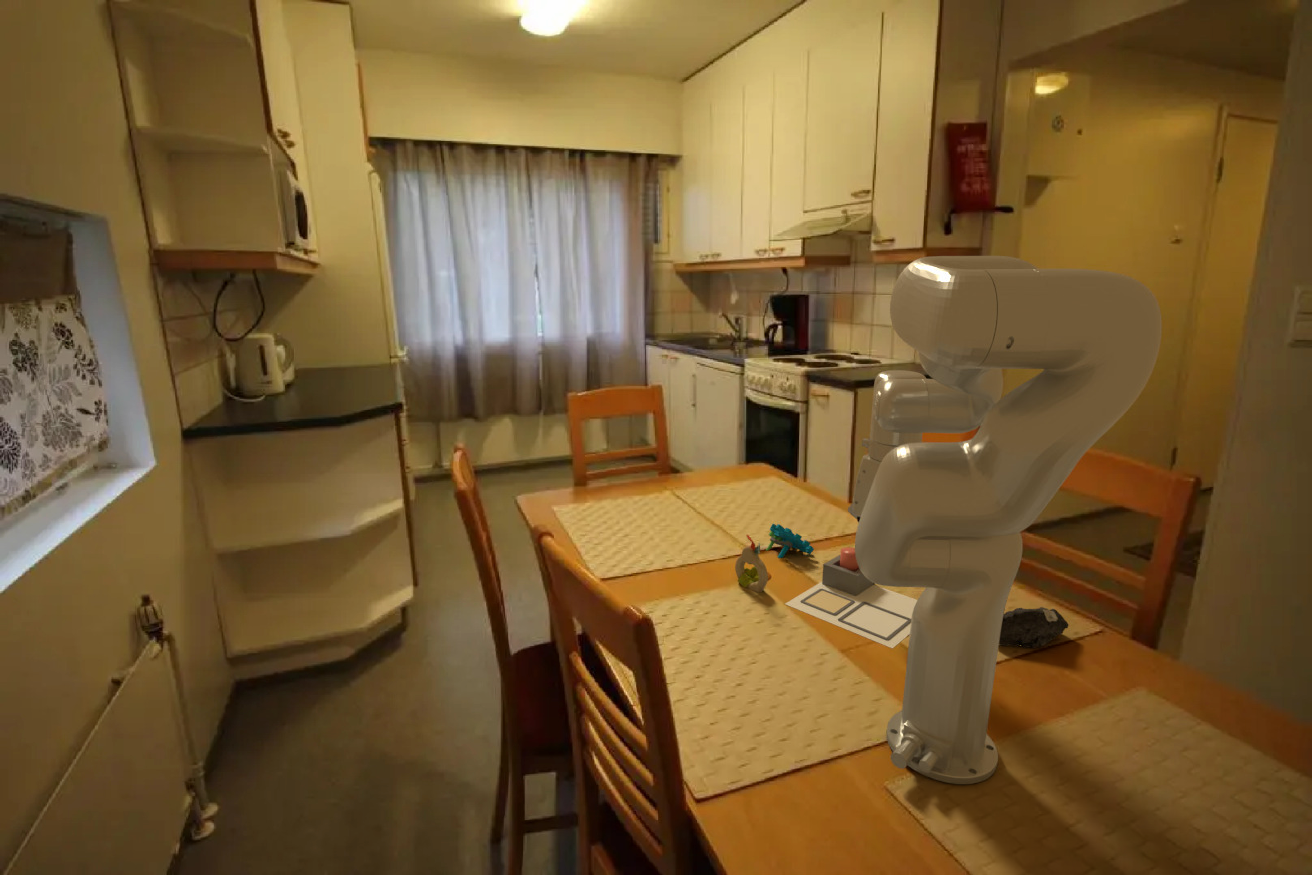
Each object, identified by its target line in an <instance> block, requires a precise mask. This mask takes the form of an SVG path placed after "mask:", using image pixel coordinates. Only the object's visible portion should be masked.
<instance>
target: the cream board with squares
mask: <svg viewBox="0 0 1312 875" xmlns="http://www.w3.org/2000/svg"><path fill="white" fill-rule="evenodd" d="M917 600H918V599H916V598H912V597H911V596H907V595H904V594H902V593H899V592H897V591H892V590H890V589H887V588H884V587H883V586H880V585H877V584H874V585H872V586H871V587H869V588H868V589H866V590H865V591H863V592H862V593H860V594H859V595H857V596H854V595H851V594H848V593H846V592H843V591H840V590H838V589H835V588H832V587H829V586H827V585H824V584H822V581H820V582H819V583H817V584H815V585H813V586H812V587H810V588H809V589H807V590H806V591H804V592H802V593H801V594H799V595H797V596H795V597H794V598H792V599H791V600H789V601H787V602H786V603H784V605H785V606H788V607H791V608H793V609H796V610H798V611H801V612H803V613H805V614H807V615H810V616H811V617H815V618H817V619H820V620H822V621H824V622H827V623H830V624H831V625H834V626H836V627H838V628H842V629H843V630H846V631H848V632H851V633H854V634H856V635H859V636H861V637H863V638H866V639H868V640H870V641H872V642H876V643H877V644H879V645H883V646H885V647H887V648H890V649H892V650H893V649H894V648H895V647H896V646H898V645H899V644H900V643H901V642H902V641H903V640H905V639H906V638H907V637H908V636H910V627H911V618H912V613H913V610H914V607H915V604H916V602H917Z"/></svg>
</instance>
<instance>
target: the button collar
mask: <svg viewBox="0 0 1312 875" xmlns="http://www.w3.org/2000/svg"><path fill="white" fill-rule="evenodd" d="M821 582H822V584H824V585H827V586H829V587H832V588H835V589H838V590H840V591H843V592H846V593H848V594H851V595H854V596H857V595H859V594H860V593H862V592H863V591H865V590H866V589H868V588H869V587H871V586H872V585H876V584H875V583H873V582H871V581H870V580H869V579H867V578H866V577H865V576H864V575H863V573H862V572H861V570H860V569H859V570H857V571H855V572H854V571H851V570H848V569H845V568H842V567H840V554H839V555H837V556H835V557H834V558H831V559H830V560H828V561H826V562H824V563H823V564H822V580H821Z"/></svg>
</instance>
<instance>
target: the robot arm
mask: <svg viewBox="0 0 1312 875" xmlns="http://www.w3.org/2000/svg"><path fill="white" fill-rule="evenodd" d="M892 289H893V290H892V292H891V295H890V301H889V302H890V303H889V314H890V316H889V317H890V321H891V324H892V327H893V330H894V331H895V333H896V335H897V336H898V337H899V338H900V339H901V340H902V341H903V342H904V343H905V344H907V345H908V346H910V347H911V348H913V349H914V350H916V352H918V358H919V362H920V365H921V367H922V368H923V371H924V372H926V374H927V375H928V376H929V377H930V378H926V376H925V375H924V374H922V373H920V372H918V371H917V372H916V371H911V370H899V369H897V370H896V369H895V370H894V369H892V370H890V369H889V370H884V371H881V372H879V373H878V374H877V375H876V376H875V379H874V384H873V394H872V404H871V405H872V406H871V407H872V409H871V418H870V419H871V420H870V432H869V437H867V438H866V437H864V438H862V441H861V446H862V447H865V448H867V452H866V453H867V454H864V455H863V456H862V458H861V462H860V464H859V467H858V468H859V469H858V472H857V476H856V480H855V485H854V486H855V487H854V490H853V492H854V493H853V498H852V503H851V504H850V506H848V508H847V511H848V513H849V514H850V515H851V516H852V517H853V518H855V519H856V521H857V524H858V525H857V529H856V533H855V541H854V548H855V555H856V560H857V564H858V566H859V568H860V570H861V572H862V573H863V575H864V576H865V577H866V578H867V579H869V580H870V581H871V582H873V583H875V584H874V585H877V586H881V587H894V588H895V587H896V588H924V589H923V591H922V593H921V594H920V595H919V597H918V598H917V599H916V600H917V602H916V604H915V607H914V610H913V613H912V618H911V627H910V634H909V638H908V649H907V657H906V669H905V678H904V688H903V689H904V690H903V698H902V706H901V707H902V710H900V711H898V712H896V713H894V714H893V715H892V717H890V719H889V721H888V722H887V727H886V740H887V743H888V746H889V748H890V749H891V751H892V753H891V754H890V761H891V763H892V764H893V765H894V766H895V767H896V768H898V769H905V768H906V767H909V768H910V769H912V770H914V771H915V772H916V773H919V774H921V775H923V776H925V777H927V778H930V779H932V780H935V781H939V782H943V783H947V784H952V785H953V784H954V785H970V784H977V783H980V782H983V781H986V780H988V779H989V778H990V777H992V775H994V773H995V771H996V770H997V766H998V762H999V752H998V749H997V746H996V744H995V743H994V741H993V740H992V738H991V737H990V736H989V734H987V732H988V727H989V726H988V724H989V718H990V711H991V703H992V695H993V689H994V687H993V686H994V681H995V674H996V666H997V659H998V653H999V646H1000V645H999V640H1000V633H1001V626H1002V621H1003V615H1004V614H1005V611H1006V605H1007V602H1008V600H1009V599H1008V598H1009V595H1010V592H1011V589H1012V586H1013V584H1014V582H1015V579H1016V577H1017V574H1018V572H1019V567H1020V565H1021V562H1022V555H1023V538H1022V534H1021V532H1022V531H1024V530H1026V529H1027V528H1029V527H1030V526H1031V525H1032V524H1034V522H1035V521H1036V520H1037V519H1038V517H1039V516H1040V515H1041V514H1042V512H1043V511H1044V509H1045V508H1046V507H1047V505H1048V504H1049V503H1050V501H1051V500H1052V499H1053V498H1054V496H1055V495H1056V494H1057V492H1058V491H1059V489H1060V488H1061V487H1062V485H1063V484H1064V483H1065V481H1066V480H1067V478H1068V477H1069V476H1070V475H1071V473H1072V471H1073V470H1074V469H1075V468H1076V466H1077V464H1078V463H1079V462H1080V460H1081V459H1082V457H1083V456H1085V453H1087V452H1088V451H1089V450H1090V448H1091V447H1093V446H1094V444H1095V443H1097V442H1098V440H1100V439H1101V437H1103V436H1104V435H1105V434H1106V433H1107V432H1108V431H1109V430H1110V429H1111V428H1112V427H1113V426H1114V425H1116V423H1117V422H1118V421H1119V420H1120V419H1121V418H1122V417H1123V416H1124V415H1125V414H1126V412H1127V411H1128V410H1129V409H1130V408H1131V407H1132V405H1133V404H1134V403H1135V402H1136V400H1137V399H1138V398H1139V396H1140V395H1141V393H1142V392H1143V391H1144V389H1145V387H1146V385H1147V383H1148V382H1149V379H1150V377H1151V375H1152V373H1153V372H1154V371H1153V370H1154V368H1155V366H1156V363H1157V359H1158V356H1159V351H1160V347H1161V343H1162V342H1161V341H1162V330H1163V328H1162V327H1163V321H1162V320H1163V319H1162V313H1161V307H1160V305H1159V302H1158V300H1157V297H1156V296H1155V294H1154V293H1153V292H1152V290H1151V289H1150V288H1149V287H1148V286H1146V285H1145V284H1144V283H1142V282H1141V281H1140V280H1137V279H1135V278H1133V277H1131V276H1128V275H1126V274H1122V273H1117V272H1114V271H1108V270H1107V271H1106V270H1099V269H1088V268H1087V269H1086V268H1038V267H1037V266H1036V265H1034V264H1032V263H1030V262H1029V261H1027V260H1025V259H1024V260H1023V259H1021V258H1019V257H1018V258H1017V257H1013V256H1005V255H1004V256H1003V255H939V256H937V255H936V256H934V255H933V256H924V257H920V258H917V259H915V260H913V261H912V262H910V263H909V264H907V266H906V267H904V269H903V271H901V273H900V274H899V275H898V277H897V279H896V282H895V283H894V286H893V288H892ZM1004 369H1005V370H1006V369H1007V370H1009V369H1010V370H1012V369H1013V370H1027V369H1028V370H1029V369H1030V370H1033V369H1034V370H1041V369H1043V370H1042V371H1041V372H1039V373H1038V374H1036V375H1035V376H1034V377H1032V378H1030V379H1028V380H1026V381H1025V382H1023V383H1022V384H1020V385H1018V386H1016V387H1014V388H1013V389H1012V390H1011V391H1009V392H1008V393H1007V394H1006V395H1005V394H1004V396H1003V395H1002V394H1003V389H1004V375H1003V370H1004ZM1002 396H1003V397H1002ZM976 429H978V430H977V432H976V434H975V435H974V436H973V437H972V438H970V439H968V440H963V441H955V442H952V441H951V442H943V441H942V442H938V441H936V442H933V441H930V442H926V441H925V442H923V435H924V434H927V433H931V434H935V433H936V434H964V433H969V432H971V431H974V430H976ZM923 433H924V434H923Z"/></svg>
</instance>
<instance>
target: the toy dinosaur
mask: <svg viewBox="0 0 1312 875" xmlns="http://www.w3.org/2000/svg"><path fill="white" fill-rule="evenodd" d="M771 524H772V525H771V526H770V528H769V530H770V532H769V533H768V536H769V537H770V539H769V541H770V543H769V544H768V546H767V547H766V549H765V551H769V550H771V549H772V547H774V545H775V544H776V545H778V546H781V547H783V548H782V549H781V551H780V552H779V553H778V555H777V558H778V559H783V558H784V557H785V556H786V554H787V552H788V550H789V549H791V548H793V549H795V550H796V549H797V550H799V551H801V552H803V553H807V554H808V555H812V553H813V551H814V550H815V548H814V547H813V546H811V542H809V541H808V540H806V539H804V540H802V535H801V534H799V533H793V531H792V529H791V528H788V527H785V528H784V526H782V525H781V524H779V523H777V524H775V523H771Z"/></svg>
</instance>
